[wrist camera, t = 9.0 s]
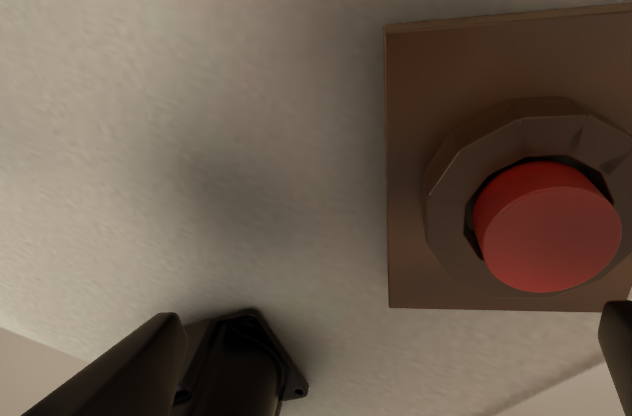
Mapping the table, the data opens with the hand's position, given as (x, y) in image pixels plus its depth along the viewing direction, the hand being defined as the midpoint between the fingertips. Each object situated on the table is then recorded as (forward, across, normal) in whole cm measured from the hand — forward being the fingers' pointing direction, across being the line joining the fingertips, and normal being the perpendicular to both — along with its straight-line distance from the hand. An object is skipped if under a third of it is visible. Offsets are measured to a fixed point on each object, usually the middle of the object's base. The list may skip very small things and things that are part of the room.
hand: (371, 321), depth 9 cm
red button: (+6, -5, +1) cm, 7 cm away
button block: (+9, -5, +1) cm, 10 cm away
